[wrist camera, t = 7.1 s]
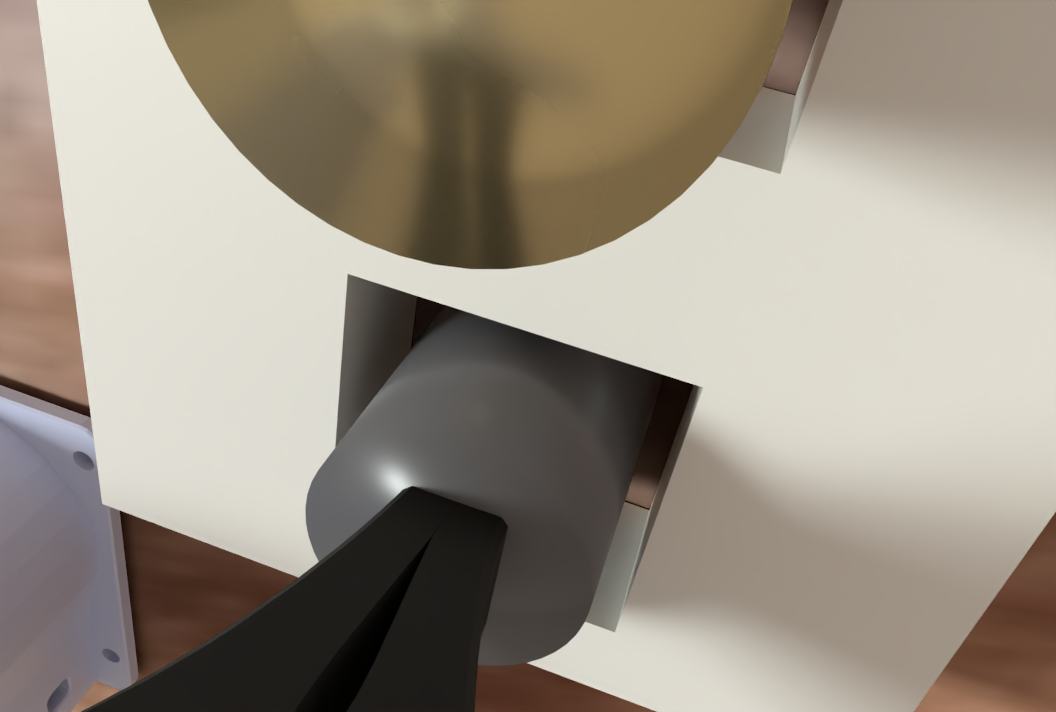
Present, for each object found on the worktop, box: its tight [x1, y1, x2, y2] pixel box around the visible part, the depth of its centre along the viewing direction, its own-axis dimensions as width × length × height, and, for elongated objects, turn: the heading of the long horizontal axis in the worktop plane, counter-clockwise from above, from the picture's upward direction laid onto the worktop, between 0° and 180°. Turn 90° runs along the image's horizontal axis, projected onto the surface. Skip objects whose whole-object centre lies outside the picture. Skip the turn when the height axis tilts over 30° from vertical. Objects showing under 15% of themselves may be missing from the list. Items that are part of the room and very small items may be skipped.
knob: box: [305, 305, 662, 666], centre depth 14 cm, size 4×4×5 cm
